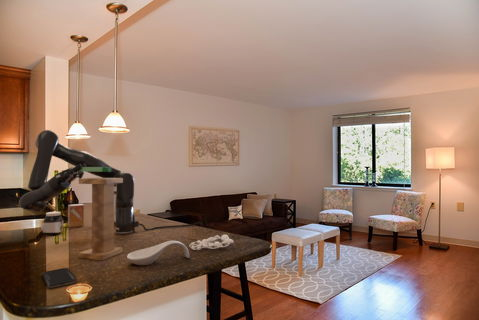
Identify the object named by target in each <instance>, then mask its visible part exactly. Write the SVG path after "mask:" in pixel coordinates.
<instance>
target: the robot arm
mask: <svg viewBox="0 0 479 320" xmlns="http://www.w3.org/2000/svg"><path fill="white" fill-rule="evenodd" d="M59 141H60V139H59V136H58V134H57V132H55V131H53V130H51V129H45V130H43V131H41V132H39V134H38V135H37V137H36V139H35V142H34V144H35V147H36V149H37V153H36V157H35V160H34V162H33V166H32V169H31V172H30V175H29V179H28V184H27V188H28V189H29V191H28V192H26V193H24V194H23V195H22V196H21V197H20V198H19V200H18V205H19V207H20V208H21V209H22V210H27V211H32V212H36V213H39V212H42V211H43V210H45V209H46V206H47V204H48V203H47V202H50V201H51V200H52V199H54V198H55V197H57V196H59V195H60V194H62V193H63V192H64V191H66V190H67V189H69V188H70V187H71V184H72V182H74V181H75V180H76V179H77V178H78V180H79V179H83V177H84V174H85V172H78V171H79V170H81V169H82V167H111V172H87V173H88V174H91V175H93V176H96V177H98V178H123V183H115V185H116V186H117V189H116V223H115V226H114V234H117V235H127V234H128V235H129V234H133V233H135V232H136V231H135V230H136V228H139V226H141V227H142V228H143V229H144V231H153V230H157V229H166V228H184V227H192V226H196V225H200V226H203V223H202V222H198V221H197V222H195V223H189V224H179V225H177V224H175V225H162V226H154V227H152V228H146V226H145V225H144V224H143V223H140V222H139V220H136V219H135V218H136V215H135V214H134V197H135V178H134V176H133V175H132V174H131V173H130V172H126V171H122V170H120V169H117V168H115V167H113V166H111V165H109V164H107V162H105V161H104V160H102V159H100V158H99V157H97V156H96V155H94V154H92V153H89V152H88V151H85V150H81V149H75V148H71V147H68V146H66V145H64V144H62V143H61V142H59ZM53 157H54V158H57V159H59V160H62V161H64V162H66V163H67V164H70V165H71V166H73V167H74V168H71V167H70V168H71V169H70V170H69V168H66V169H64V170H62V171H60V172H58V173H55V174H54V176H52V177H51V178H50V179H48V177H49V173H50V166H51V162H52V158H53Z"/></svg>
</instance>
